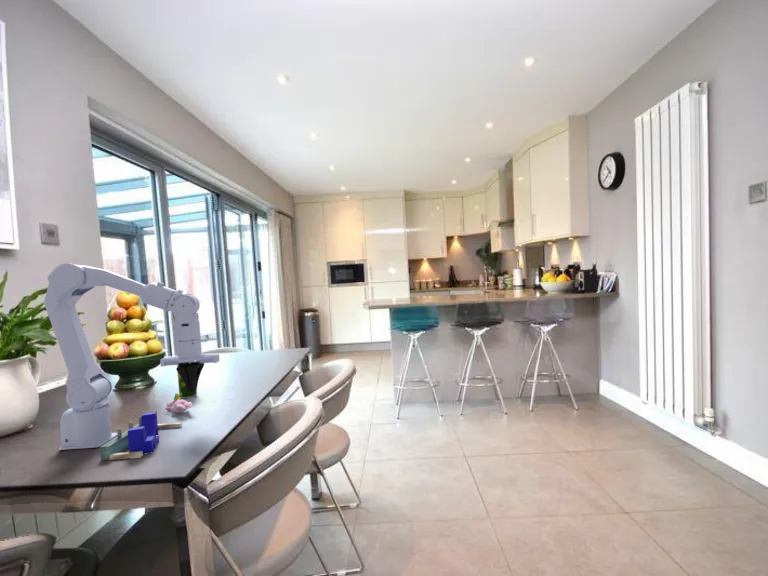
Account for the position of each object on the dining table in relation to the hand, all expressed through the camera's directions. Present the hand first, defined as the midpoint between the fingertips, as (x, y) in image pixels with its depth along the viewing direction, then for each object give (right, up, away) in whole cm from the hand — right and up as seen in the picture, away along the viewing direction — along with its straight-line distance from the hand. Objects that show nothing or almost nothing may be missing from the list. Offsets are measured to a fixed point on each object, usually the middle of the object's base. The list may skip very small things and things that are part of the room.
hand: (192, 391), depth 100 cm
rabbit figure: (-10, -10, +13) cm, 20 cm away
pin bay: (-7, -10, -8) cm, 15 cm away
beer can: (-16, -10, +29) cm, 34 cm away
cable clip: (-6, -11, -9) cm, 15 cm away
